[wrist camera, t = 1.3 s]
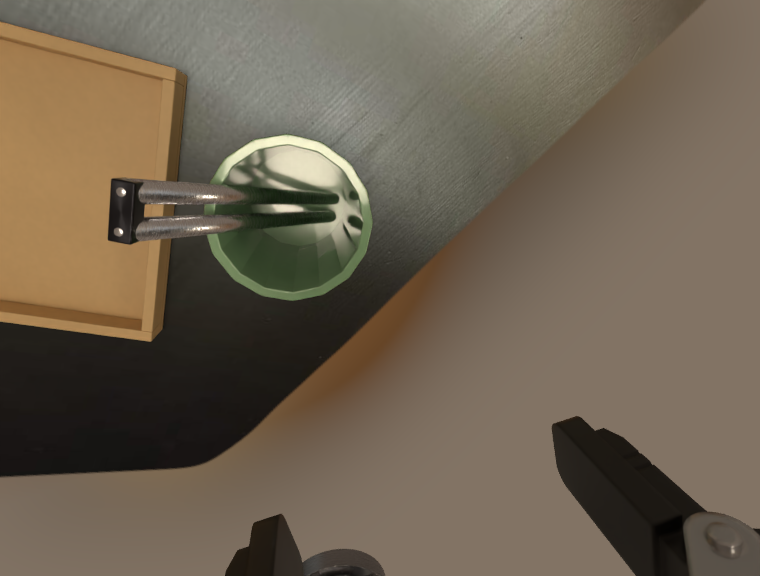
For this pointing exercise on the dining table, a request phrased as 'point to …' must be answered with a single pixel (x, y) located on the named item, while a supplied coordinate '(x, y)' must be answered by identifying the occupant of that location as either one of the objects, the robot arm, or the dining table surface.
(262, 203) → the tongs
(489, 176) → the dining table surface
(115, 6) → the dining table surface
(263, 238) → the green cup
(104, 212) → the tray
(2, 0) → the dining table surface
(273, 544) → the robot arm
